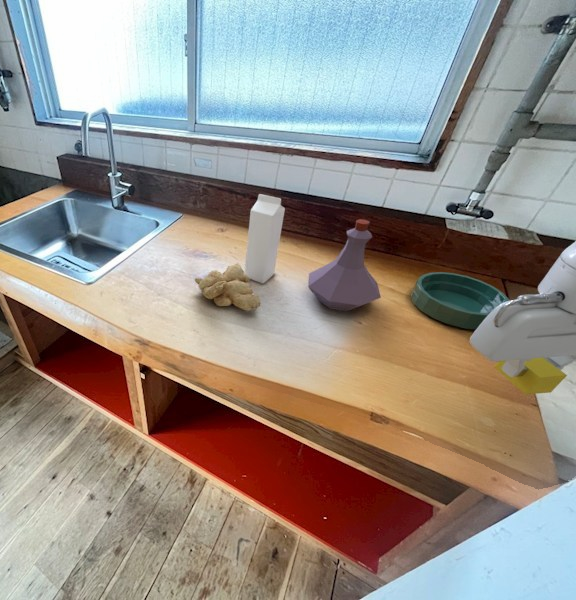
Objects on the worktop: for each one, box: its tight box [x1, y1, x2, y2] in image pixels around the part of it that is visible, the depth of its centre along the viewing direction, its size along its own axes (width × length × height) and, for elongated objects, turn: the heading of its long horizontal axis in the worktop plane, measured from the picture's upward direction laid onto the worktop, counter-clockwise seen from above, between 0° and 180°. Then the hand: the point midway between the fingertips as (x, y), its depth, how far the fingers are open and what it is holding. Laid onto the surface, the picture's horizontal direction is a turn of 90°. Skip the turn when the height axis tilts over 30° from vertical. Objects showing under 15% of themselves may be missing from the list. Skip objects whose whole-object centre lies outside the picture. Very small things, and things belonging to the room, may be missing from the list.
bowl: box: [410, 271, 511, 331], centre depth 73 cm, size 17×17×4 cm
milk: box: [243, 193, 286, 285], centre depth 82 cm, size 6×6×22 cm
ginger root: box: [194, 263, 262, 312], centre depth 79 cm, size 16×16×8 cm
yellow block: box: [493, 358, 568, 395], centre depth 45 cm, size 5×4×4 cm
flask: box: [307, 218, 382, 312], centre depth 72 cm, size 16×16×20 cm
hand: (528, 371), depth 45 cm, fingers closed on yellow block, 3 cm apart
